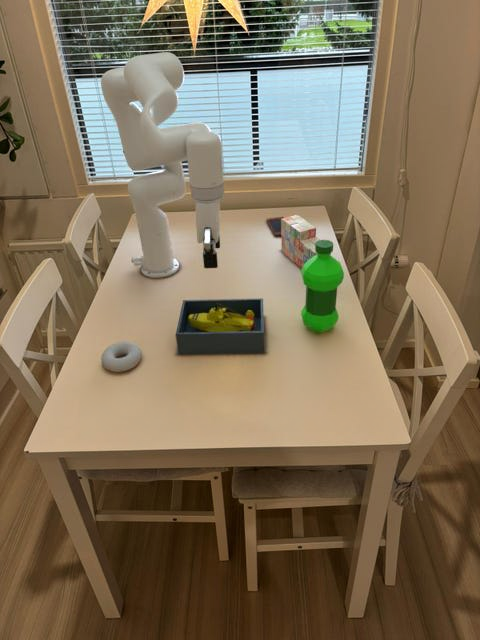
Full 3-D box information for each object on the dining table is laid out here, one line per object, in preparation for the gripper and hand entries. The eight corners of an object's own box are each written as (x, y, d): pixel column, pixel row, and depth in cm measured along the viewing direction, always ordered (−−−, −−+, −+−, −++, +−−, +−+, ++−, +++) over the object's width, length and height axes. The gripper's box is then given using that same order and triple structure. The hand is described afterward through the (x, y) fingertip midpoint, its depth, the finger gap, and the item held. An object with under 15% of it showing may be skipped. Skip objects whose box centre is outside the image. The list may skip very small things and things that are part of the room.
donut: (94, 366, 120) (123, 379, 115) (91, 356, 118) (120, 368, 113) (122, 345, 127) (150, 356, 122) (119, 334, 125) (148, 345, 120)
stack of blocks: (329, 274, 151) (332, 239, 144) (312, 279, 149) (314, 243, 142) (296, 246, 167) (297, 214, 160) (280, 250, 165) (280, 217, 158)
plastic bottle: (336, 340, 124) (344, 255, 109) (296, 335, 127) (298, 251, 112) (340, 318, 132) (349, 236, 117) (303, 313, 134) (306, 232, 120)
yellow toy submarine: (253, 343, 123) (252, 312, 118) (187, 337, 127) (183, 306, 121) (257, 329, 128) (257, 298, 123) (193, 323, 132) (189, 293, 126)
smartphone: (275, 234, 173) (266, 218, 185) (275, 237, 174) (266, 220, 186) (294, 232, 174) (283, 216, 186) (293, 234, 175) (283, 218, 187)
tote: (178, 354, 122) (175, 334, 118) (185, 319, 135) (183, 300, 131) (264, 353, 121) (263, 332, 117) (263, 317, 134) (263, 298, 130)
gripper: (194, 176, 114) (200, 241, 124) (186, 206, 100) (193, 276, 110) (225, 176, 113) (229, 240, 124) (221, 205, 100) (225, 275, 110)
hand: (212, 257), depth 117 cm, fingers open, 9 cm apart
